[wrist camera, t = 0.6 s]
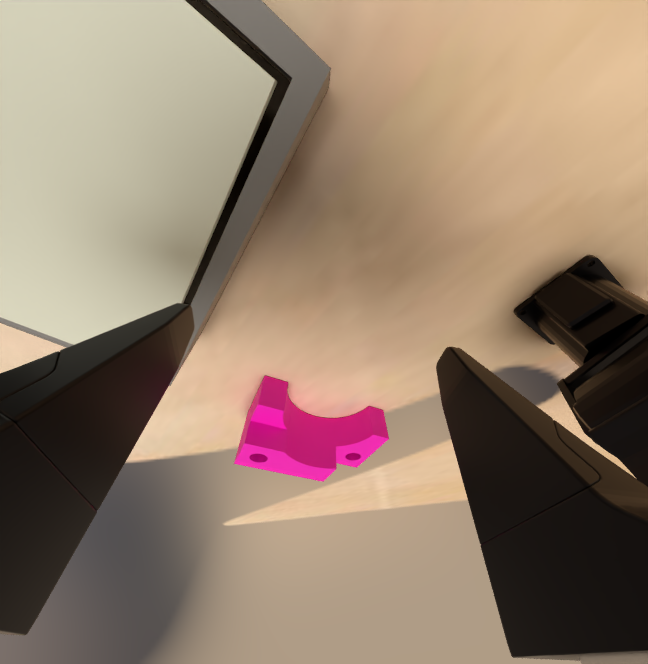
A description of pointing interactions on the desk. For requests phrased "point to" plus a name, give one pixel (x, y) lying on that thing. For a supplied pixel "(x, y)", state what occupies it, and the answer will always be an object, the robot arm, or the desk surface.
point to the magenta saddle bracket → (305, 436)
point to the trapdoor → (114, 156)
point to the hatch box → (275, 154)
